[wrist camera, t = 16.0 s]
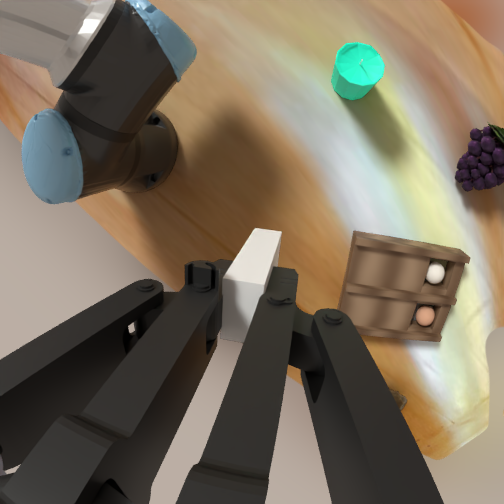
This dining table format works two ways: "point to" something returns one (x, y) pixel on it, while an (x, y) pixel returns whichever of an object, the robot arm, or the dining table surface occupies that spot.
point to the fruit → (483, 160)
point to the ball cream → (435, 272)
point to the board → (397, 286)
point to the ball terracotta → (425, 315)
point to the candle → (356, 70)
